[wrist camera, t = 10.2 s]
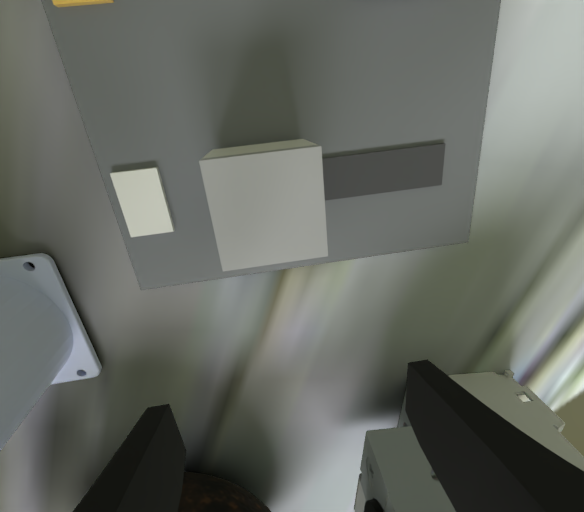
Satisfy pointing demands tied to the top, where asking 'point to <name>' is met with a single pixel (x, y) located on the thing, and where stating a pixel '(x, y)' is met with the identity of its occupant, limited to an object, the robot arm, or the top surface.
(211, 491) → the glass bottle
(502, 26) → the top surface
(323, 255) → the slider
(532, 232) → the top surface
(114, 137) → the switch console
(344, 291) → the top surface
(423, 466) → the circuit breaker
